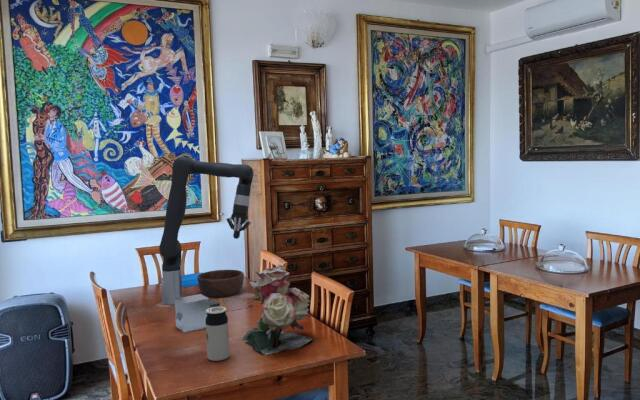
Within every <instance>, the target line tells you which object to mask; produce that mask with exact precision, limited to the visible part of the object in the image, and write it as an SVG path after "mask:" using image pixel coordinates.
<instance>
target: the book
mask: <svg viewBox="0 0 640 400" xmlns="http://www.w3.org/2000/svg"><path fill="white" fill-rule="evenodd" d="M202 273H204V272H197V273H187V274H181V279H182V288H186V287H187V288H189V287H193V286H194V287H195V286H199V284H198V279H197V277H198V275H200V274H202ZM161 284H162V285H163V277H161Z"/></svg>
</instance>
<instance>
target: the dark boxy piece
mask: <svg viewBox="0 0 640 400" xmlns="http://www.w3.org/2000/svg"><path fill="white" fill-rule="evenodd" d="M209 302H210V308H212V307H221V304H220V302H218V301H216V299H215V300H209ZM176 318H177V319H181V315H180V313H177V314H176V315H175V319H176Z"/></svg>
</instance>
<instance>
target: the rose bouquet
mask: <svg viewBox="0 0 640 400" xmlns="http://www.w3.org/2000/svg"><path fill="white" fill-rule="evenodd" d="M255 274H256V275H257V276H258V277H259V279H257V280H253V281H249V285H250V286H251V287H252V289H253V291H254V292H255V294H256V295H257V296H255V297H250V298H249V299H250V300H254V301H259V302H261V303H260V305H262V309H261V310H260V315H261V317H260V318H259V319H256V322H257V326H256V327H255V326H254V327H252V328H251V329H249V330H246V334H245V335H243V336H242V338H241V340H242V341H244V343H245V344H246V345H248V346H250V347H252V348H253V349H254V350H255V351H257V352H259V353H261V354H263V355H264V356H268V355H272V354H275V355H277V356H278V353H279V352H282V351H283V350H296V349H299V348H302V347H303V346H304V345H306V344H308V343H309V342H311V341H312V342H313V341H314V339H313V338H312V337H309V336H305V335H301V334H297V332H295V328H296V329H298V330H299V332H302V333H305V330H304V326H303V325H301V324H300V322H298V321H299V320H304V319H306V317H309V316H310V314H309V311H310V310H311V309H309V308H308V307H309V306H310V302H311V301H310V299H309V298H310V295H309V294H307V293H305V292H304V291H301V290H300V288H297V287H290V286H291V282H290V281H287V280H288V278H289V276H290V275H291V274H290V272H288V271H286V267H284V266H283V265H281V264H279V265H278V266H276V267H272V268H271V267H268V268H266V269H263V270H262V271H259V272H255ZM235 305H236V303H235ZM247 307H248V308H252V307H253V304H250V305H249V304H248V305H247ZM290 327H291V329H292V332H288V333H287V332H284V331H283V330H287V329H289V328H290ZM279 341H280V342H281V343H279Z"/></svg>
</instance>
